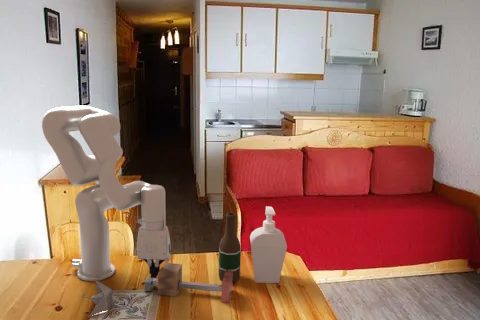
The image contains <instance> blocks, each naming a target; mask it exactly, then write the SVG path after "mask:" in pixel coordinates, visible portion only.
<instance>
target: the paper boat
mask: <svg viewBox="0 0 480 320" xmlns="http://www.w3.org/2000/svg"><path fill="white" fill-rule="evenodd" d="M95 283H96V290H97V293H96V294H94V295H92V296H91V297H89V299H90V301H92V302H93V303H94V304H95V307H94V308H93V310H92V311H91V313H90V314H89V315H88V317H87V318H88V319H89V318H92V317H91V316H92V315H94V314H96V313H99V312H102V311H106V310H108V309H109V308H111V307H112V304H113V302H114V296H113V289H112V288H111V287H110V286H107V285H105V284H103V283H102V282H101V281H99V280H98V281H95ZM81 298H85V299H88V297H87V296H86V293H84V294H83V295H82V296H81ZM109 310H110V309H109Z"/></svg>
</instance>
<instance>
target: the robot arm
mask: <svg viewBox="0 0 480 320" xmlns="http://www.w3.org/2000/svg"><path fill="white" fill-rule="evenodd" d="M41 123H42V124H41V128H42V133H43V135H44V138H45V139H46V141H47V143H48V144H49V146H50V147H51V148H52V150H53V151H54V153H55V155H56V157H57V159H58V162H59V164H60V166H61V167H62V169H63V172H64V173H65V175H66V179H68V181H69V183H70V184H71V185H72V186H75V187H81V186H86V185H89V184H93V183H95V185H92V186H89V187H86V188H84V189H82V190H81V191H80V192H78V194H76V196H75V200H74V204H75V205H74V206H75V209H76V213H77V217H78V223H79V235H80V237H79V238H80V254H81V255H80V257H81V258H80V259H79V258H73V259H72V261H71V267H72V268H77V269H78V270H77V278H78V279H80V280H82V281H85V282H96V281H98V282H99V281H102V280H105V279H107V278H110V277H111V276H113V275H114V273H115V271H116V267H115V265H114V264H112V263H111V250H110V249H111V248H110V247H111V246H110V245H111V244H110V243H111V242H110V226H109V220H108V218H106V216H105V214H104V212H106V211H108V210H110V209H113V208H114V209H116V210H118V211H123V212H124V211H126V210H129V209H132V208H134V207H136V206H139V205H141V208H140V210H141V211H140V213H141V218H138V219H137V224H140V227H138V231H137V232H138V233H137V241H136V256H137V258H138V260H141V261H144V262H145V263H146V264H147V266H148V268H149V270H148V271H149V275H150V276H151V278H155V279H157V278H158V272H159V270H160V269H161V268H160V266H161V265H162V264H163V263H168V262H170V261H171V237H170V232H169V228H168V226H167V224H166V223H167V222H166V219H167V218H166V214H167V213H166V189H165V187H164V186H163V185H159V184H151V183H148V182H145V181H143V180H135V181H132V182H129V183H126V184H124V185H122V183H121V182H120V181H119V179H118V177H117V175H116V169H115V168H116V163H117V162H118V160H120V159H121V157H122V156H123V153H124V151H123V148H122V147H121V146H120V144H119V143H118V141H117V139H116V138H115V136H117V135H118V134H119V133H120V131H121V122H120V121H119V118H117V116H116V115H114V114H113V113H111V112H108V111H106V110H102V109H99V108H95V107H92V106H88V105H75V106H74V105H73V106H60V107H54V108H52V109H50V110H47V112H46V113H45V114H44V115H43V117H42V122H41ZM77 131H79V133H80V135H81V136H82V138H83V139H84V141H85V143H86V144H87V146H88V147H89V150H90V151H91V152H92V155H90V154H89V155H87V154H86V152H85V150H84V149H83V147H82V145H81V143H80V142H79V141H78V140H77V139H76V138H75V137H74V136H72V135H71V134H70V132H77Z"/></svg>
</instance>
